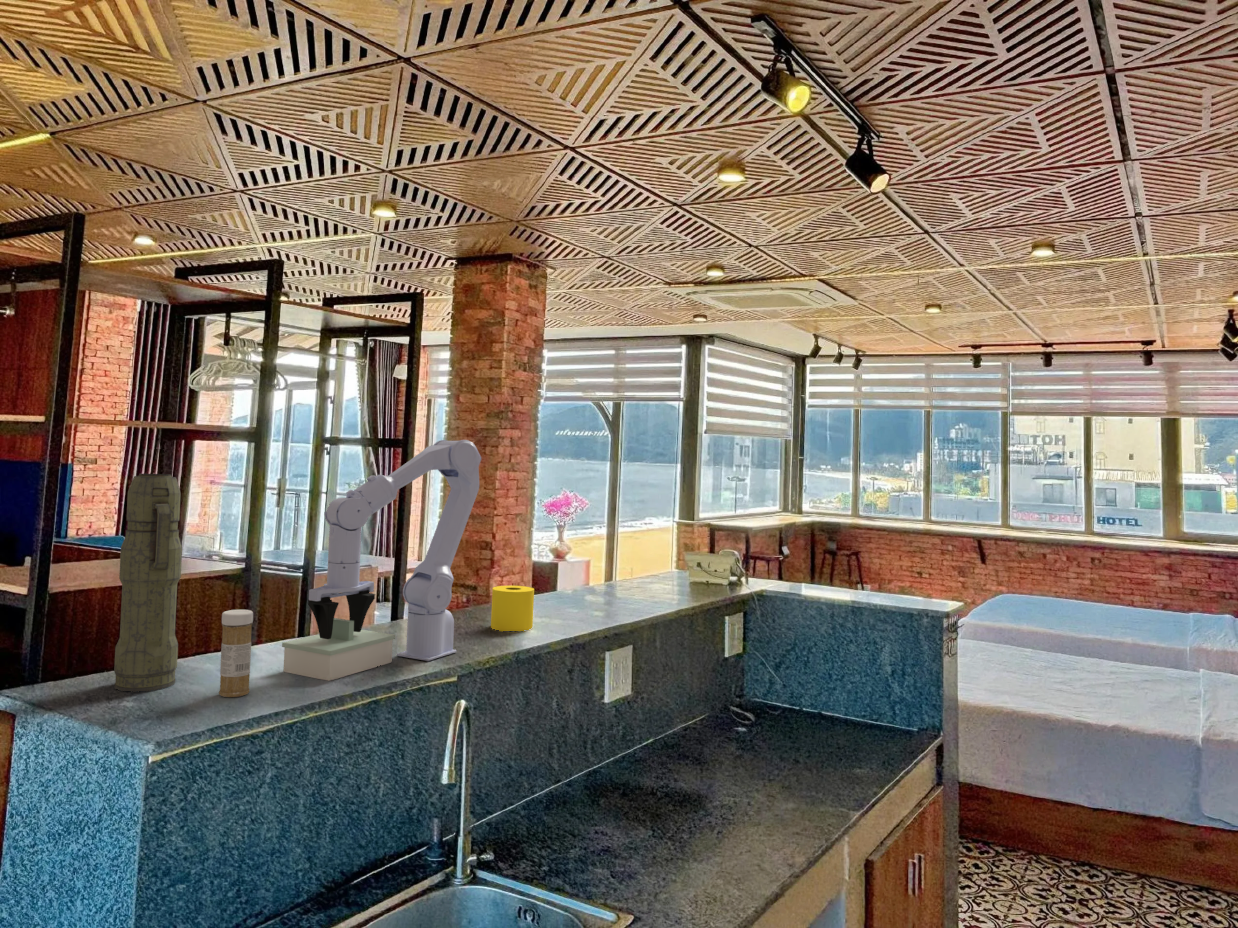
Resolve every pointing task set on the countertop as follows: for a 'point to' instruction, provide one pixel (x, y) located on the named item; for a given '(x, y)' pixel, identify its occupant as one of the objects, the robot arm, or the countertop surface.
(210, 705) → the countertop surface
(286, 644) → the lid
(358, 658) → the tub
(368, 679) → the countertop surface
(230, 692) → the sprinkles bottle
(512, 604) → the yellow paper roll
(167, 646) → the thermos
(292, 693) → the countertop surface
